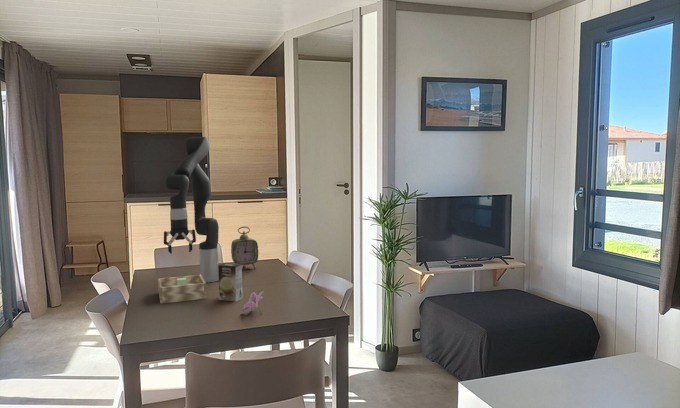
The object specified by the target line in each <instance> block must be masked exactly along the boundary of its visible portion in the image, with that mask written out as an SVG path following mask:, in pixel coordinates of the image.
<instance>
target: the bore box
mask: <svg viewBox="0 0 680 408" xmlns="http://www.w3.org/2000/svg"><path fill="white" fill-rule="evenodd" d="M177 278H186V285H179V286H177ZM157 285H158V286H157V287H158V288H157V289H158V296H159V297H158V298H159V302H160V304H166V303H168V304H169V303H177V302H186V301H187V302H188V301H196V300H204V299H207V298H208V297H207V294H208V293H207V282H205V281H204V279H203V277H202V276H201V275H200V274H196V275H195V274H194V275H193V274H192V275H184V276H183V275H182V276H174V277H170V276H169V277H162V278H157Z"/></svg>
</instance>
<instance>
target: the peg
mask: <svg viewBox="0 0 680 408" xmlns="http://www.w3.org/2000/svg"><path fill="white" fill-rule="evenodd" d="M179 285H186V278H177V286H179Z"/></svg>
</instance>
